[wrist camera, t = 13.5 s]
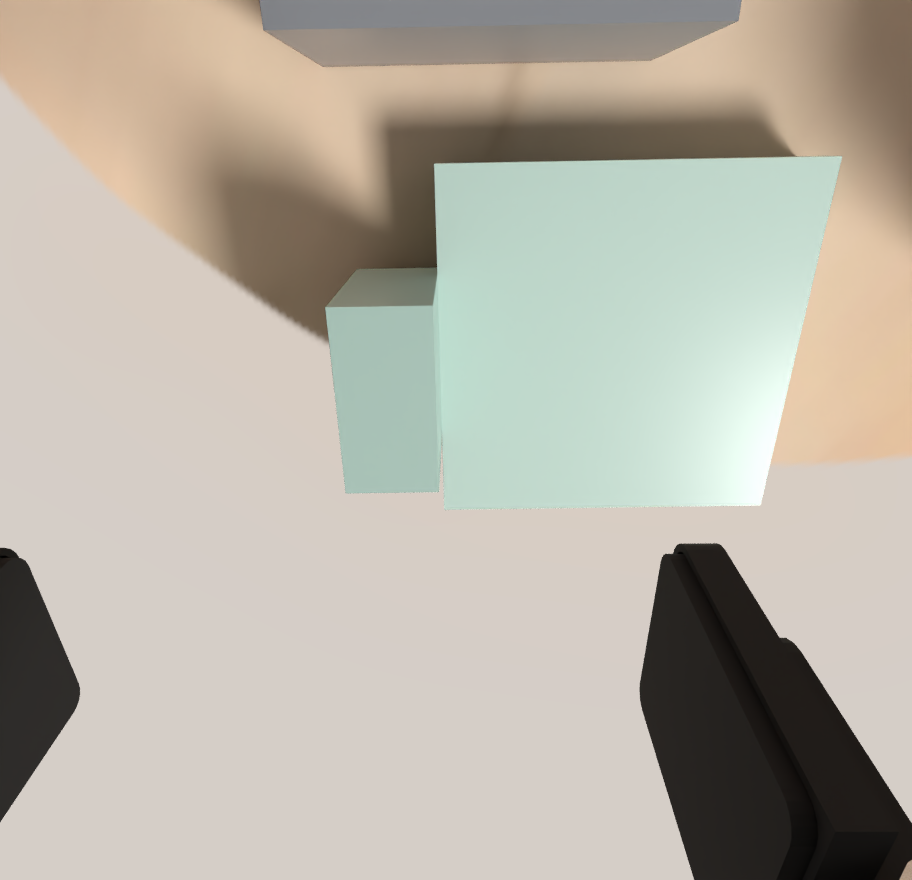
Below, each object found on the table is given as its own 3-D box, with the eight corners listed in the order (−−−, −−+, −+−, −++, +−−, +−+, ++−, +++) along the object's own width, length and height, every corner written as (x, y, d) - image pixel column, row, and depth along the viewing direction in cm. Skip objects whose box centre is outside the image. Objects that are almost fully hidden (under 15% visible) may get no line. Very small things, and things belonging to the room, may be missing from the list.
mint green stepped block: (352, 163, 22) (309, 170, 15) (801, 155, 22) (944, 158, 15) (378, 480, 27) (355, 580, 21) (735, 475, 27) (819, 574, 21)
